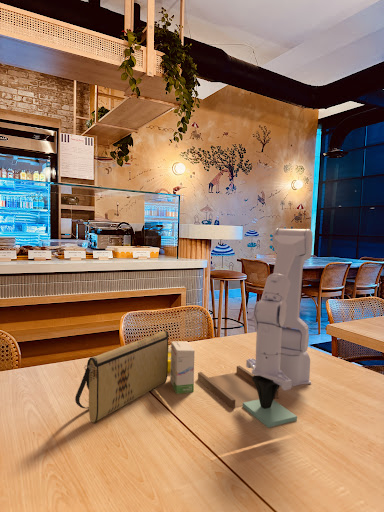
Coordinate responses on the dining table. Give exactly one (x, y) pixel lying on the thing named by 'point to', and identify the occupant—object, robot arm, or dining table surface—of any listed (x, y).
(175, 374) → the ink box
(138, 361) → the clutch purse
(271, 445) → the dining table surface
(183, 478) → the dining table surface
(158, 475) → the dining table surface
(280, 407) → the teal plate
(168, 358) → the element tile
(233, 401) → the walnut tray
